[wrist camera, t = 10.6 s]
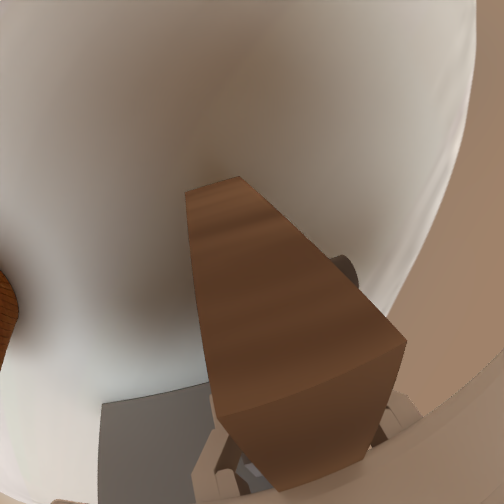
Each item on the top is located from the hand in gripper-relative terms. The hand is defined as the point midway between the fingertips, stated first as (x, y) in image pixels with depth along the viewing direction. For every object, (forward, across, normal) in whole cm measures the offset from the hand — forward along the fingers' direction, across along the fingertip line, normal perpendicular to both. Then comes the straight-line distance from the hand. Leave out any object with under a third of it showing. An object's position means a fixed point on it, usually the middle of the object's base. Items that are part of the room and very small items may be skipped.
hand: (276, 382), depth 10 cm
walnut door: (+5, 0, 0) cm, 5 cm away
